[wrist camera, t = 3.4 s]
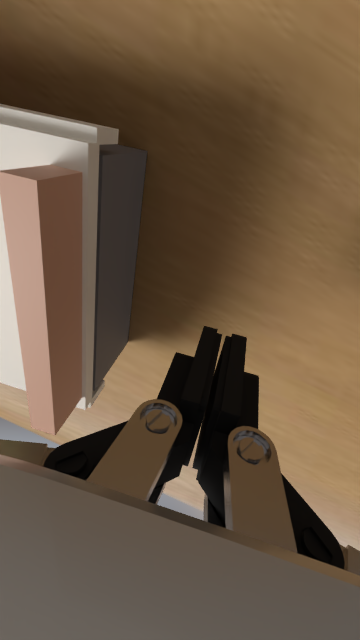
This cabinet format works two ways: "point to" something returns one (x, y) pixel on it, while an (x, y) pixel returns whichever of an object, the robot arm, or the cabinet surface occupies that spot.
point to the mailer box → (116, 250)
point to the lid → (49, 260)
